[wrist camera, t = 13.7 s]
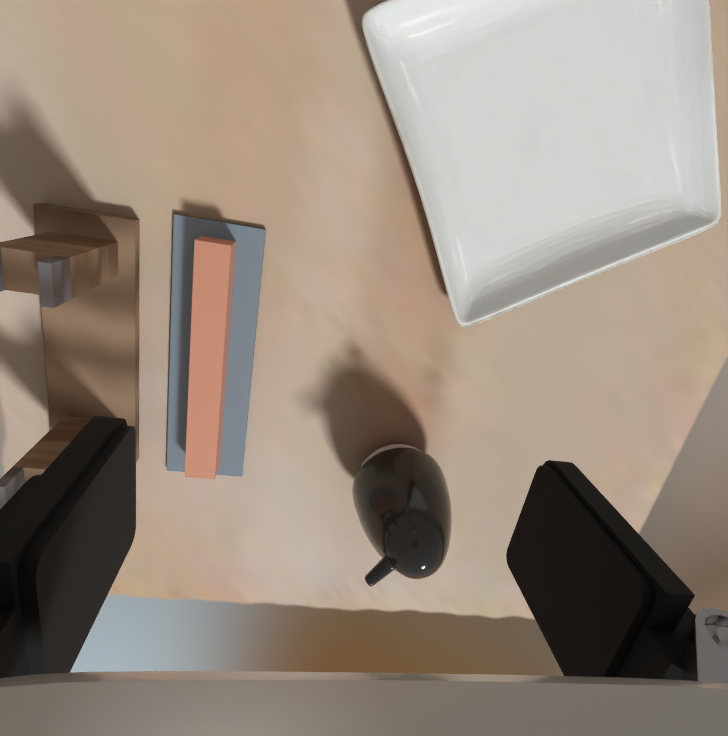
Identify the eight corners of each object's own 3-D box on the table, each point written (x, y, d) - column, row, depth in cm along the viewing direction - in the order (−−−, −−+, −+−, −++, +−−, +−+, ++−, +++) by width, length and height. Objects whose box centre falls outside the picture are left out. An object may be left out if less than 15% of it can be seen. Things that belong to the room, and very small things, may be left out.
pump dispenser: (332, 455, 53) (341, 555, 39) (415, 415, 52) (454, 503, 38) (371, 517, 57) (391, 628, 43) (448, 481, 56) (494, 582, 42)
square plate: (449, 322, 49) (460, 333, 45) (352, 25, 38) (357, 9, 34) (697, 221, 47) (729, 224, 44) (669, -115, 37) (708, -146, 33)
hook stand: (41, 203, 40) (-69, 213, 28) (139, 219, 41) (72, 235, 30) (58, 451, 49) (-20, 536, 37) (138, 458, 50) (87, 542, 39)
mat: (174, 213, 41) (173, 214, 41) (265, 229, 43) (265, 229, 42) (167, 468, 51) (166, 470, 51) (242, 474, 52) (241, 476, 52)
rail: (202, 235, 42) (194, 240, 39) (236, 241, 42) (231, 245, 40) (191, 460, 51) (184, 476, 48) (219, 462, 51) (214, 479, 48)
